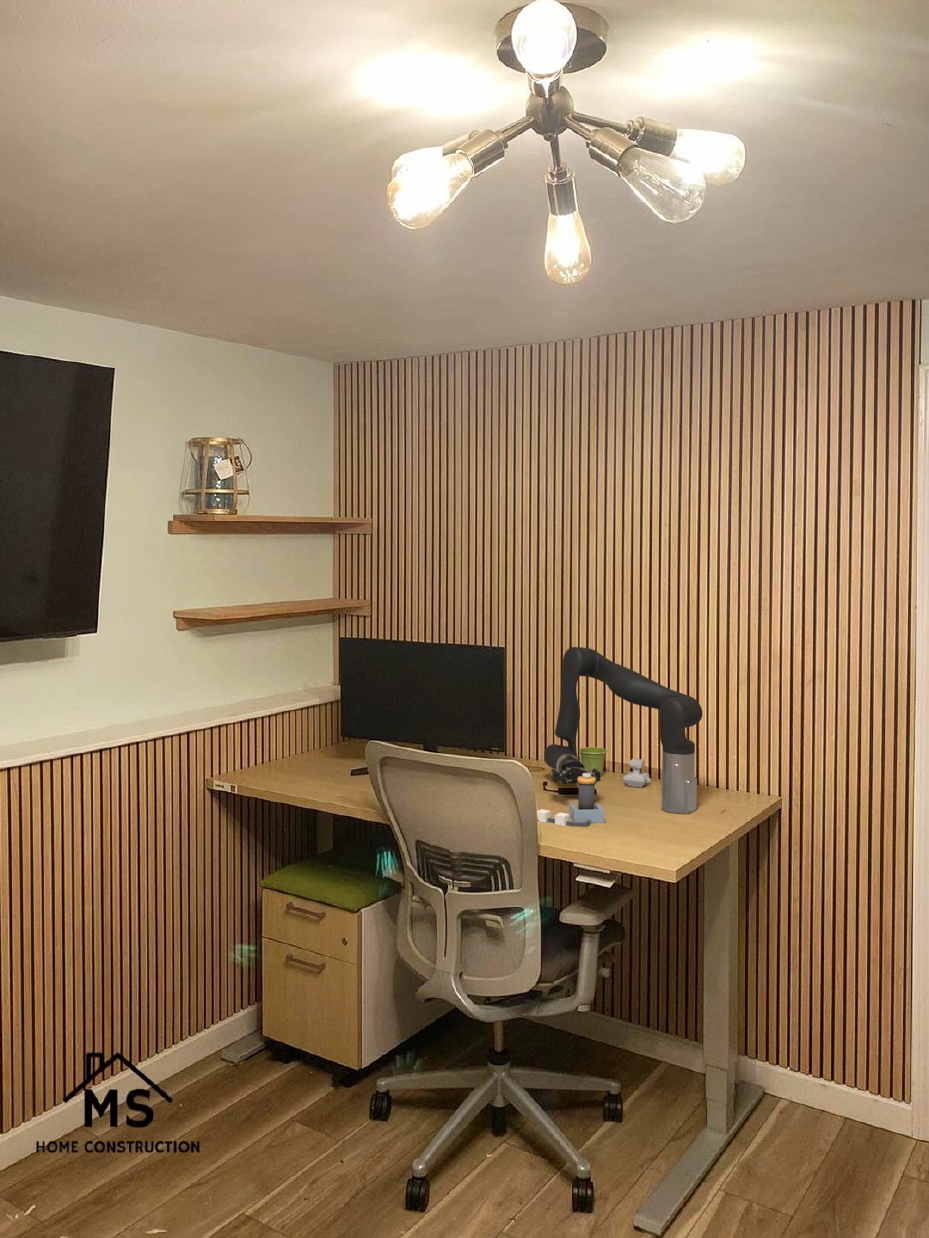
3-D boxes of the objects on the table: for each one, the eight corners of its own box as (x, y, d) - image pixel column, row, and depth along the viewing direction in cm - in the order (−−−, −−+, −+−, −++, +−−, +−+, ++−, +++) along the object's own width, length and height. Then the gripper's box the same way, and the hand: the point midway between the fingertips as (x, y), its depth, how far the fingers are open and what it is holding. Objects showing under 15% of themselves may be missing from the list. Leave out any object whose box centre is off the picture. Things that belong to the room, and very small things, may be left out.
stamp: (620, 786, 321) (620, 760, 321) (625, 782, 327) (626, 756, 327) (647, 790, 318) (648, 763, 317) (653, 785, 324) (653, 759, 323)
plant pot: (598, 780, 330) (598, 754, 329) (573, 776, 335) (573, 750, 335) (612, 775, 337) (612, 749, 336) (587, 770, 343) (587, 745, 342)
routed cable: (593, 823, 281) (593, 814, 281) (581, 829, 275) (581, 820, 275) (547, 814, 290) (547, 805, 289) (534, 820, 284) (534, 811, 284)
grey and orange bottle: (598, 816, 286) (598, 773, 285) (589, 820, 282) (590, 776, 281) (582, 813, 289) (583, 770, 288) (573, 817, 285) (574, 774, 284)
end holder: (569, 814, 290) (569, 802, 289) (597, 814, 290) (598, 802, 290) (574, 823, 281) (574, 810, 281) (604, 822, 282) (604, 810, 282)
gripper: (547, 756, 309) (556, 769, 293) (593, 755, 311) (604, 768, 294) (547, 780, 310) (555, 794, 294) (592, 779, 311) (604, 793, 295)
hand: (580, 781), depth 294 cm, fingers open, 8 cm apart
